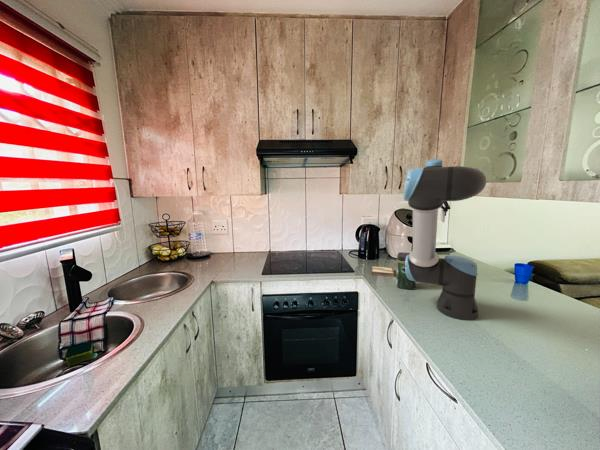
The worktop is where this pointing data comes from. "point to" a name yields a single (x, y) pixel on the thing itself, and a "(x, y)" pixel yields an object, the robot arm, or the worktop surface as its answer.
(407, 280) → the coffee jar
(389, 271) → the tan flat block
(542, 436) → the worktop surface
